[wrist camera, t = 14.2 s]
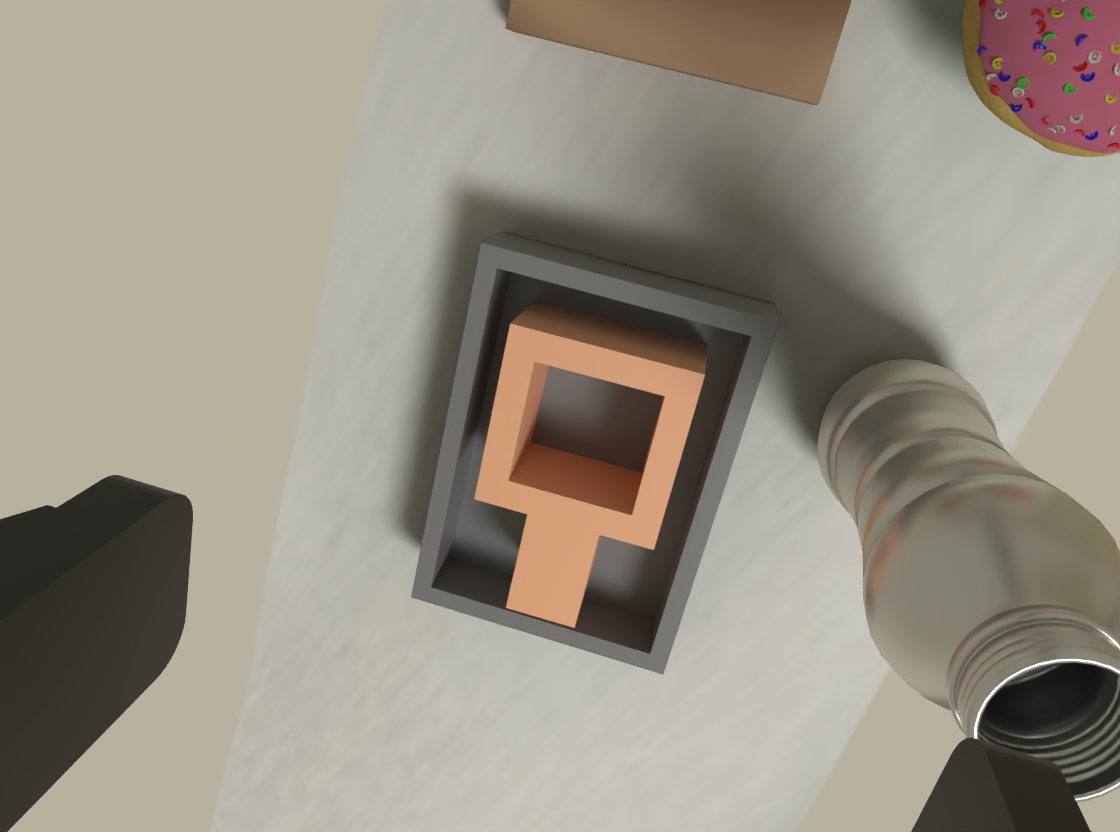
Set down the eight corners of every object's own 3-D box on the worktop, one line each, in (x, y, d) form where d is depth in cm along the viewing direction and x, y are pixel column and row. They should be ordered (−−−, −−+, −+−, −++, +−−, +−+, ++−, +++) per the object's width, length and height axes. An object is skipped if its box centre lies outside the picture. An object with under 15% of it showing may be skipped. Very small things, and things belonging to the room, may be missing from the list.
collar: (534, 300, 37) (510, 323, 33) (707, 345, 37) (705, 374, 32) (482, 544, 41) (455, 592, 37) (636, 589, 41) (626, 643, 37)
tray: (502, 231, 37) (481, 242, 34) (774, 303, 36) (778, 322, 33) (435, 560, 43) (411, 597, 40) (667, 631, 42) (663, 674, 39)
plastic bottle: (785, 462, 38) (842, 790, 20) (855, 320, 36) (997, 540, 17) (926, 519, 38) (1119, 905, 19) (1006, 379, 36) (1317, 667, 17)
